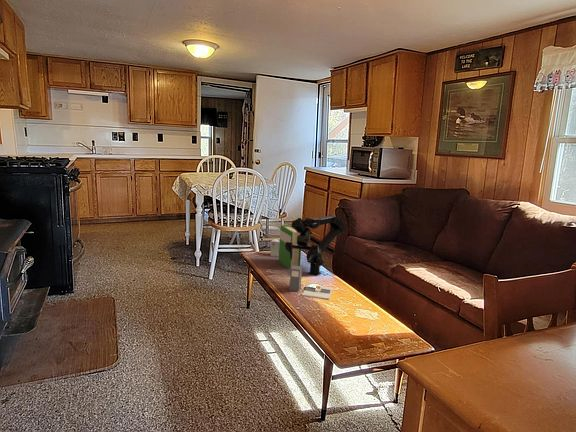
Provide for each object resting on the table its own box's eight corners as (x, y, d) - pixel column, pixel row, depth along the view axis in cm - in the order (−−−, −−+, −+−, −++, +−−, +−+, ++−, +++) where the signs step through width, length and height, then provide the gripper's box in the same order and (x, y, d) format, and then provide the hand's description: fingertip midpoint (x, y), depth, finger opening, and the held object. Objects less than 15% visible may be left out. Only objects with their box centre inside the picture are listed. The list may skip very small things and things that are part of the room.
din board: (307, 285, 216) (307, 284, 216) (332, 288, 213) (332, 287, 213) (302, 295, 200) (302, 294, 200) (329, 299, 198) (329, 298, 197)
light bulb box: (286, 254, 272) (287, 239, 270) (285, 257, 266) (286, 242, 264) (271, 253, 273) (272, 238, 271) (270, 256, 267) (271, 240, 265)
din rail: (306, 288, 209) (306, 286, 209) (330, 292, 206) (330, 289, 206) (305, 290, 207) (305, 287, 207) (330, 293, 204) (330, 291, 204)
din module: (291, 286, 213) (293, 265, 210) (300, 287, 212) (302, 266, 209) (289, 290, 207) (290, 268, 205) (298, 291, 206) (300, 269, 204)
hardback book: (299, 268, 244) (302, 231, 240) (288, 269, 241) (291, 231, 237) (288, 260, 260) (291, 225, 256) (278, 260, 257) (280, 225, 253)
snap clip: (316, 287, 207) (316, 285, 207) (320, 287, 207) (320, 286, 207) (315, 288, 206) (315, 286, 206) (320, 289, 205) (320, 287, 205)
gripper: (286, 227, 218) (280, 251, 209) (319, 231, 214) (315, 255, 205) (288, 238, 227) (283, 261, 218) (320, 241, 223) (316, 265, 215)
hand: (299, 261), depth 214 cm, fingers open, 9 cm apart
